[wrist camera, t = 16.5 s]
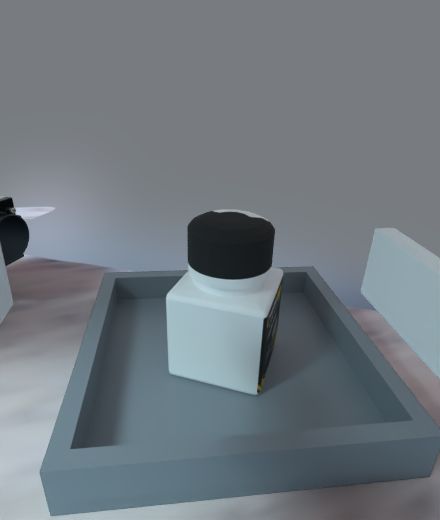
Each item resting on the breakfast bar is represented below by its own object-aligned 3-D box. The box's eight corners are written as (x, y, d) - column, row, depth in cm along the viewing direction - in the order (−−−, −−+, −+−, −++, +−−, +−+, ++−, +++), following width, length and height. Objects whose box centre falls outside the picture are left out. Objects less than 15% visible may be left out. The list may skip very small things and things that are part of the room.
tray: (50, 516, 21) (39, 472, 19) (108, 302, 40) (104, 272, 39) (429, 476, 23) (445, 435, 22) (309, 294, 43) (313, 266, 42)
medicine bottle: (258, 399, 27) (273, 243, 22) (167, 375, 29) (161, 227, 24) (276, 341, 33) (291, 208, 28) (199, 324, 35) (200, 198, 30)
